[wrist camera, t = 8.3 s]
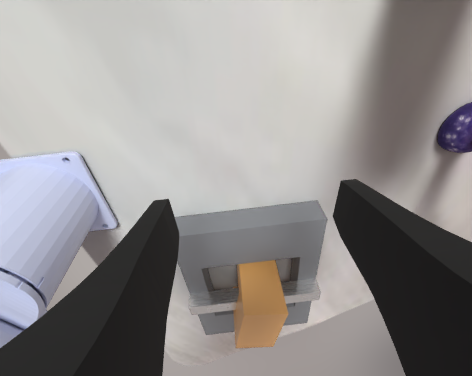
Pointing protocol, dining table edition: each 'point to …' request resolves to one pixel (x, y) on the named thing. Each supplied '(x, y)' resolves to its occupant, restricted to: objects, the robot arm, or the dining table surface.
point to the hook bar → (229, 297)
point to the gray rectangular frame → (251, 249)
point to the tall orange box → (259, 305)
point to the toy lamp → (457, 131)
